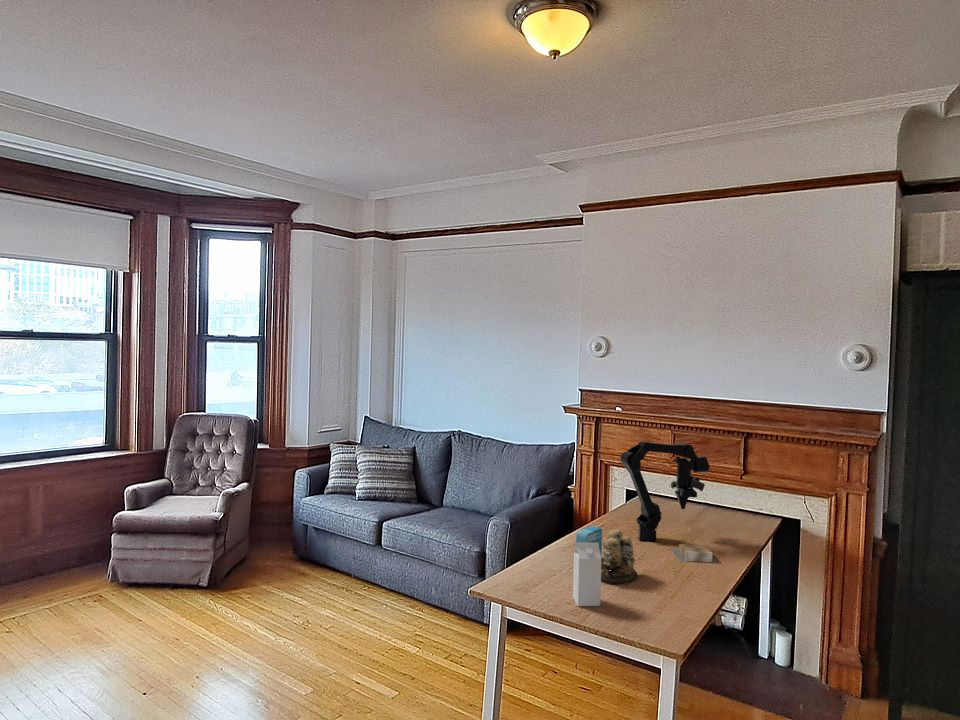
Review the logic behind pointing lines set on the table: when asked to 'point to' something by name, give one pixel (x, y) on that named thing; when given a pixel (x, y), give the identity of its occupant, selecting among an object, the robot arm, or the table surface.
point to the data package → (590, 536)
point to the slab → (695, 553)
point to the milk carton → (587, 574)
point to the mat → (676, 552)
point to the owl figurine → (618, 559)
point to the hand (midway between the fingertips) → (682, 509)
